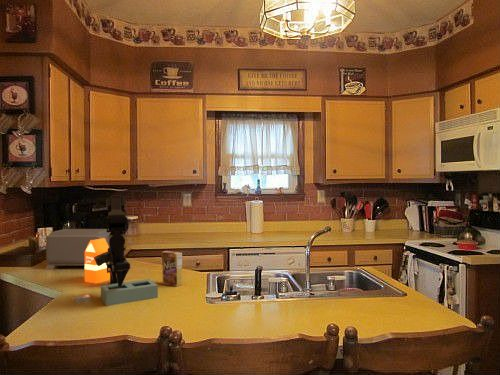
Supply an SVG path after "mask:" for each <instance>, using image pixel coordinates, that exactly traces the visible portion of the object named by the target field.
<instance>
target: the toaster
mask: <svg viewBox="0 0 500 375" xmlns="http://www.w3.org/2000/svg"><path fill="white" fill-rule="evenodd" d="M108 230H109V228H108ZM109 234H110V232H107V228H63V229H59V230H55V231H51V232H50V233H49V234H48V235H46V237H45V238H46V239H45V240H46V241H45V242H46V244H45V245H46V246H45V247H46V248H45V252H46V254H45V256H46V262H47V264H46V267H45V269H44V270H45V271H53V270H55V269H57V268H58V267H59V266H85V250H86V248H87V246H88V244H89V242H90V240H96V239H103V238H105V240H106V242H107V244H108V247H109Z"/></svg>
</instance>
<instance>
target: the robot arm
mask: <svg viewBox="0 0 500 375" xmlns="http://www.w3.org/2000/svg"><path fill="white" fill-rule="evenodd" d="M105 202H106V203H105V204H106V205H105V206H106V207H105V209H106V210H107V212H108V216H106V229H107V232H110V234H109V247H108V251H107V252H105V253H102V254H100V255H97V256H95V257H94V259H95V262H96V264H97V265H98V266H101V265H102V264H104V263H106V265H107V273H110V279H109V282H107V285H109V284H116V283H118V286H121V285H122V283H124V282H125V281H124V280H125V278H126V276H127V274H128V273H129V271H130V269H131V263H129V262H128V261H127V258H126V257H125V251H126V248H127V247H125V243H126V238H125V233H126V232H128V230H129V219H128V217H127V216H126V214H125V209H126V205H127V204H126V199H125V198H124V197H123V195H120V194H119V195H116V194H115V195H111V196H110V197H108V198H106V201H105ZM108 229H109V230H108ZM124 232H125V233H124Z"/></svg>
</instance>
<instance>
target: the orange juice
mask: <svg viewBox="0 0 500 375" xmlns="http://www.w3.org/2000/svg"><path fill="white" fill-rule="evenodd" d="M107 251H108V244H107V242H106V240H105V238H103V239H96V240H90V242H89V244H88V246H87V248H86V250H85V265H84V282H85V283H91V284H98V283H99V284H100V283H102V282H105V281H110V273H107V265H106V263H104V264H102V265H101V266H98V265H97V264H96V262H95V259H94V257H95V256H97V255H100V254H102V253H105V252H107Z"/></svg>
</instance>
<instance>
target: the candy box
mask: <svg viewBox="0 0 500 375" xmlns="http://www.w3.org/2000/svg"><path fill="white" fill-rule="evenodd" d="M161 255H162V256H161V258H162V260H161V262H162V263H161V264H162V266H161V269H162V270H161V271H162V284H163V285H165V286H166V285H167V286H173V287H176V288H177V287H180V286H182V285H183V252H181V251H172V250H171V251H170V250H165V251H162V252H161Z"/></svg>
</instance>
